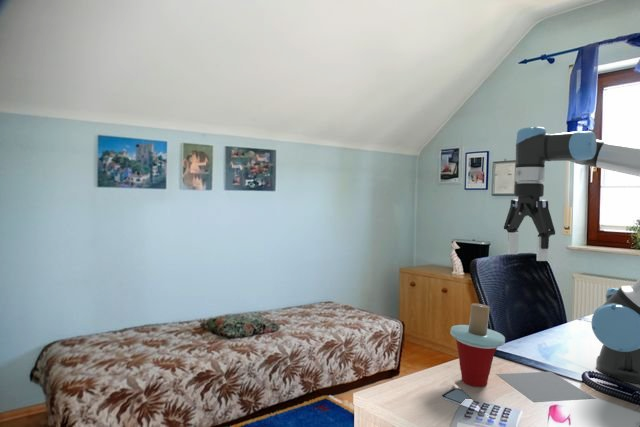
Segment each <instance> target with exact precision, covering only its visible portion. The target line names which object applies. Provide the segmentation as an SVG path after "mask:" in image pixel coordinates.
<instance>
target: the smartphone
mask: <svg viewBox="0 0 640 427" xmlns="http://www.w3.org/2000/svg"><path fill="white" fill-rule="evenodd" d="M440 398H441V399H443V400H444V401H445V400H446V401H448V402H449V403H452V404H453V403H454V404H455V405H458V406H461V405H460V404H461V403H462V402H463V401H464V400H465V399H473V398H472V397H471V396H469V395H468V393H467V392H465V390H463V389H461V388H459V387H454V388H451V389H449V390H448V391H445V392H444V393H442V394H441V395H440Z"/></svg>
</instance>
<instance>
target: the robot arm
mask: <svg viewBox="0 0 640 427" xmlns="http://www.w3.org/2000/svg"><path fill="white" fill-rule="evenodd" d="M546 162H571V163H573V164H574V163H575V164H577V165H580V166H582V165H583V166H588V167H592V168H598V169H603V170H608V171H612V172H613V171H614V172H617V173H621V174H626V175H632V176H636V177H640V146H637V145H636V146H635V145H629V144H622V143H617V142H613V141H612V142H611V141H605V140H601V139H597V136H596V133H595V132H593V131H592V130H586V131H585V130H584V131H582V130H577V131H570V132H561V133H560V132H559V133H547V130H546V128H545V127H542V126H534V127H533V126H531V127H529V126H528V127H523V128H520V129H519V130H517V132H516V142H515V171H514V176H515V177H514V181H515V182H517V183H515V184H514V196H515V197H517V199H511V200H510V206H509V209H508V212H507V216H506V218H505V219H506V220H505V222H504V225H503V229H504V230H506V231H507V233H508V236H507V244H508V245H507V246H508V247H507V254H508V255H518V254H519V228H520V226H521V224H522V223H523V221H524V219H525V218H526V217H528V216H529V218H531V220H532V222H533V224H534V226H535V228H536V231H537V232H538V234H537V238H536V261H537V262H548V257H549V256H548V253H549V250H548V249H549V244H550V238H551V236H554V235H556V230H555V226H554V224H553V223H554V222H553V220H552V215H551V213H550V209H549V200H547V199H540V198H542V197H544V193H545V192H544V191H545V189H544V188H545V185H544V183H543V182H545V171H546V170H545V167H546V165H545V163H546ZM605 298H606V299H605V300H606V301H605V303H604V304H602V305H601V306H599V307H598V308H596V309H595V311H594V312H593V315H592V318H591V329H592V332H593V334H594V336H595V338H596V339H597V340H598V341H599V342H600V343H601V344H602V347H601V349H600V353H599V355H597V357H596V359H595V360H596V363H595V364H596V365H595V367H596V369H597V370H598V371H599V372H601V373H602V374H604V375H606V376H608V375H609V376H608V377H610V376H612V377H611V378H613V377H615V378H614V379H616V378H618V379H617V380H620V381H625V382H628V383H634V384H640V278H638V279H637V280H636V281H635V282H634V283H633V284H630V285H622V286H620V287H619V288H617V287H610V288H608V289H607V290H606V295H605Z"/></svg>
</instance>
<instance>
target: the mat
mask: <svg viewBox="0 0 640 427" xmlns="http://www.w3.org/2000/svg"><path fill="white" fill-rule="evenodd" d="M495 375H497V376H498V377H499V378H500V379H502V380H503V381H504V382H506V383H507V384H508V385H510V386H511V387H513V388H514V389H515V390H516V391H518V392H519V393H521V394H522V395H523V396H524V397H526V398H528V400H531V401H532V402H533V403H540V402H542V403H543V402H558V401H559V402H560V401H561V402H562V401H577V400H594V399H597V398H596V397H594V396H593V395H591V394H590V393H588V392H586V391H585V390H583V389H581V388H580V387H578V386H576V385H574V384H573V383H571V382H570V381H568V380H566V379H564V378H563V377H561V376H559V375H557V374H555V373H554V372H553V371H534V372H533V371H532V372H516V373H515V372H513V373H512V372H511V373H496V374H495Z"/></svg>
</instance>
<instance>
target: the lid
mask: <svg viewBox="0 0 640 427" xmlns="http://www.w3.org/2000/svg"><path fill="white" fill-rule="evenodd" d="M489 316H490V306H489V305H487V304H486V305H485V304H483V303H482V304H481V303H471V304H470V314H469V323H468V324H457V325H453V326H451V327H450V336H452V337H453V338H454V339H455V340H456V339H458V340H460V341H463V342H466V343H469V344H473V345H478V346H485V347H497V348H500V347H502V346H504V345H505V342H506V337H505V336H504V335H503V334H502V333H500V332H499V331H497V330H496V331H495V330H493V329H490V328H488V325H489Z"/></svg>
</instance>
